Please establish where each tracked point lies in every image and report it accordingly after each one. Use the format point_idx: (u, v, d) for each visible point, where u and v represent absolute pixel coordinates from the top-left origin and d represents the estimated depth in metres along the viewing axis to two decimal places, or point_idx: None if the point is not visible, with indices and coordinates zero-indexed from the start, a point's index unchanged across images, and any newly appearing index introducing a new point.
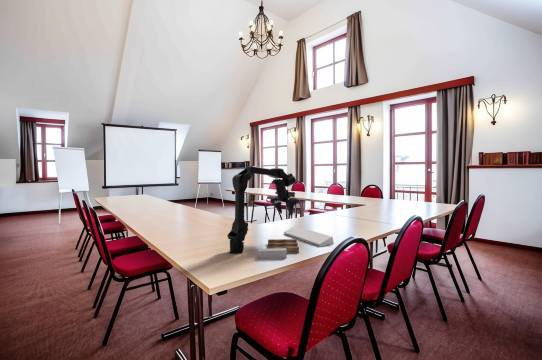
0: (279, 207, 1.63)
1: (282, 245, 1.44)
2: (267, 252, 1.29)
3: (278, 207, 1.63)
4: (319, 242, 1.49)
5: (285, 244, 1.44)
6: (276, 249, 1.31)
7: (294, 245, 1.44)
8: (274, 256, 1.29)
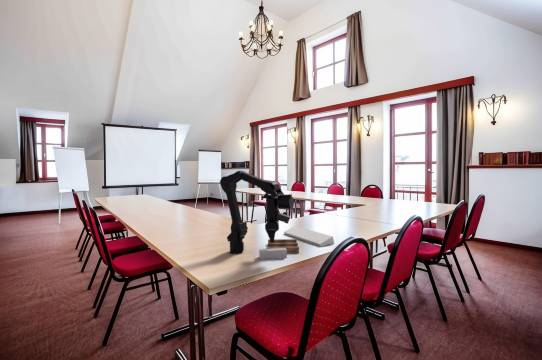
0: None
1: (282, 245, 1.44)
2: (267, 252, 1.29)
3: None
4: (319, 241, 1.49)
5: (285, 244, 1.44)
6: (275, 249, 1.31)
7: (294, 245, 1.44)
8: (274, 256, 1.29)
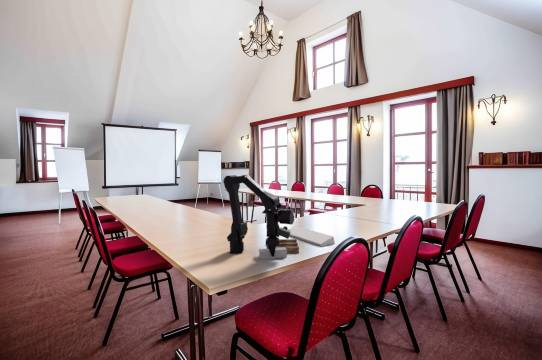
0: None
1: (282, 245, 1.44)
2: (268, 252, 1.29)
3: None
4: (320, 241, 1.49)
5: (285, 244, 1.44)
6: (275, 249, 1.31)
7: (294, 245, 1.44)
8: (275, 256, 1.29)
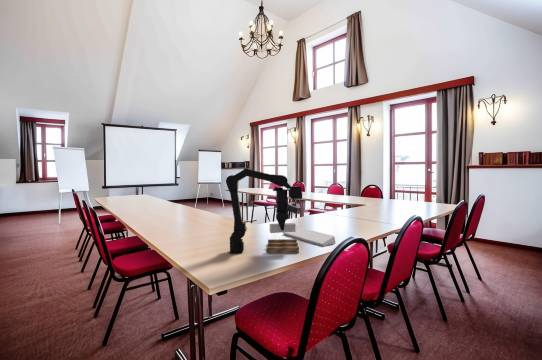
0: None
1: (282, 245, 1.44)
2: (278, 226, 1.38)
3: None
4: (322, 241, 1.49)
5: (285, 244, 1.44)
6: (285, 223, 1.41)
7: (294, 245, 1.44)
8: (284, 230, 1.39)
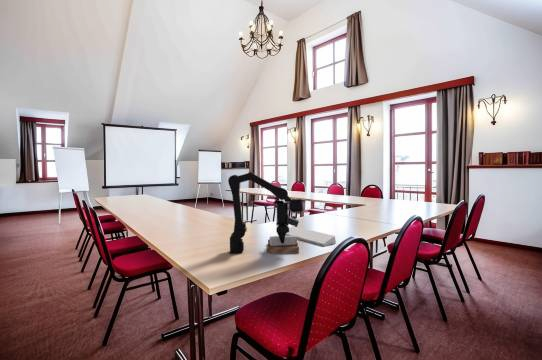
0: None
1: (282, 245, 1.44)
2: (278, 239, 1.39)
3: None
4: (322, 241, 1.49)
5: None
6: (285, 236, 1.41)
7: (294, 245, 1.44)
8: (284, 242, 1.40)
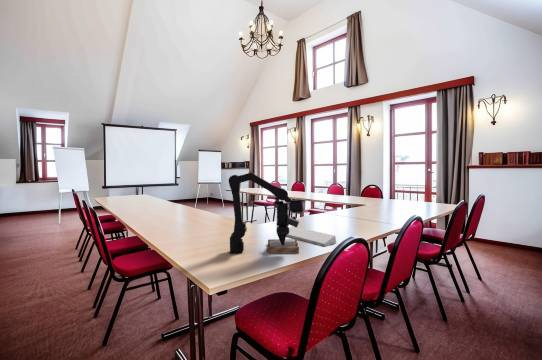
0: None
1: None
2: (278, 243, 1.39)
3: None
4: (323, 241, 1.49)
5: None
6: (285, 240, 1.41)
7: None
8: None
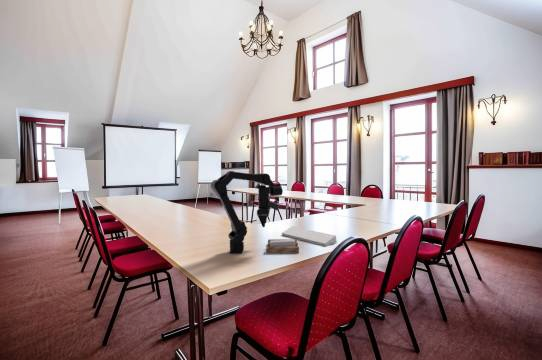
0: None
1: None
2: (278, 243, 1.39)
3: None
4: (324, 241, 1.50)
5: None
6: (285, 240, 1.41)
7: None
8: None
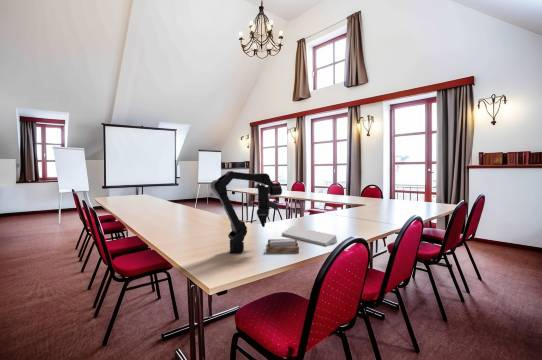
0: None
1: None
2: (278, 243, 1.39)
3: None
4: (324, 241, 1.50)
5: None
6: (285, 240, 1.41)
7: None
8: None
